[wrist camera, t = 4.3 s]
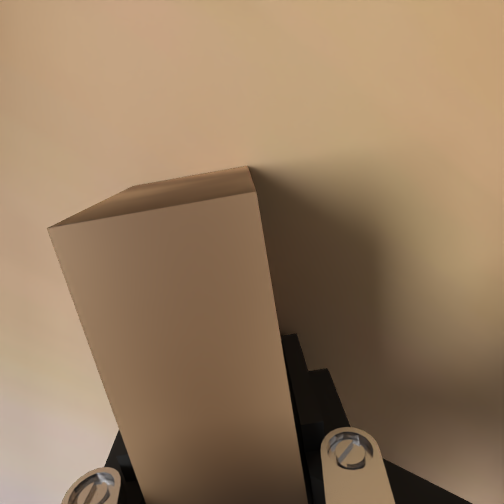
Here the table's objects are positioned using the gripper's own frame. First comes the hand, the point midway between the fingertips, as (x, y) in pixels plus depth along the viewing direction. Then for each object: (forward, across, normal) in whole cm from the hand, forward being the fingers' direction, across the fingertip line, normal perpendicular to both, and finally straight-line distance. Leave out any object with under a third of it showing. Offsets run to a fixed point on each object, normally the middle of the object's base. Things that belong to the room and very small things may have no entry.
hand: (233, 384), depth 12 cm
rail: (+1, 0, 0) cm, 1 cm away
